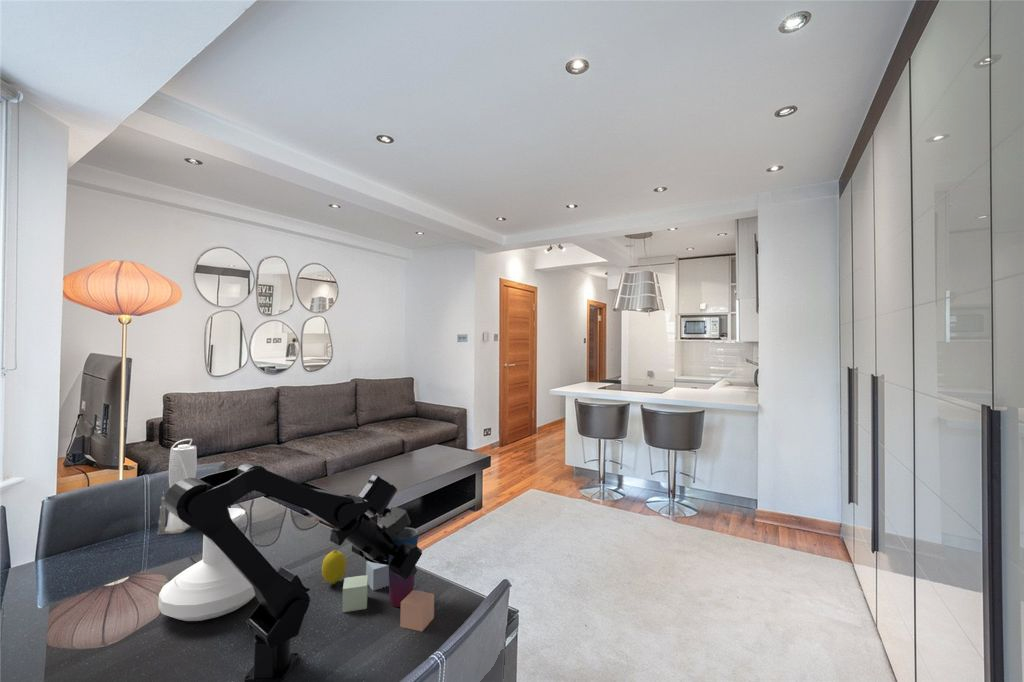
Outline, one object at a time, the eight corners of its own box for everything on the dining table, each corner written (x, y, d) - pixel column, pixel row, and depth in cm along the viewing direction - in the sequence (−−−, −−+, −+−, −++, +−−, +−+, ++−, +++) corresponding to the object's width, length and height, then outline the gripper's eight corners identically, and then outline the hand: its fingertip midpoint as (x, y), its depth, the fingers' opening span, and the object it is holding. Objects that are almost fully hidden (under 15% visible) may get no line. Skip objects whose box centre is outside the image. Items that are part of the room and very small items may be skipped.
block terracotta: (421, 632, 87) (422, 606, 87) (400, 627, 88) (400, 602, 89) (433, 618, 92) (434, 593, 92) (413, 613, 93) (413, 589, 93)
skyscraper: (172, 524, 142) (176, 438, 143) (200, 523, 143) (203, 437, 145) (156, 534, 134) (160, 443, 135) (185, 533, 135) (189, 442, 136)
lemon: (337, 591, 102) (338, 556, 102) (316, 588, 103) (317, 554, 103) (350, 579, 107) (351, 546, 108) (330, 577, 108) (331, 544, 109)
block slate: (393, 584, 105) (393, 563, 105) (373, 591, 102) (373, 569, 102) (385, 576, 109) (385, 556, 109) (365, 582, 106) (366, 561, 106)
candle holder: (135, 639, 84) (140, 538, 85) (183, 587, 103) (187, 505, 104) (251, 623, 89) (254, 528, 90) (276, 576, 108) (279, 498, 109)
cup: (383, 596, 99) (385, 529, 100) (413, 590, 102) (414, 525, 103) (388, 612, 93) (390, 540, 94) (419, 605, 96) (421, 536, 97)
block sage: (366, 609, 95) (367, 585, 95) (342, 612, 93) (342, 589, 93) (367, 597, 99) (367, 574, 100) (344, 600, 98) (344, 577, 98)
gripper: (415, 509, 90) (453, 546, 98) (364, 491, 102) (402, 525, 110) (382, 561, 83) (425, 596, 91) (332, 536, 95) (374, 569, 103)
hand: (406, 568), depth 99 cm, fingers closed on cup, 6 cm apart
